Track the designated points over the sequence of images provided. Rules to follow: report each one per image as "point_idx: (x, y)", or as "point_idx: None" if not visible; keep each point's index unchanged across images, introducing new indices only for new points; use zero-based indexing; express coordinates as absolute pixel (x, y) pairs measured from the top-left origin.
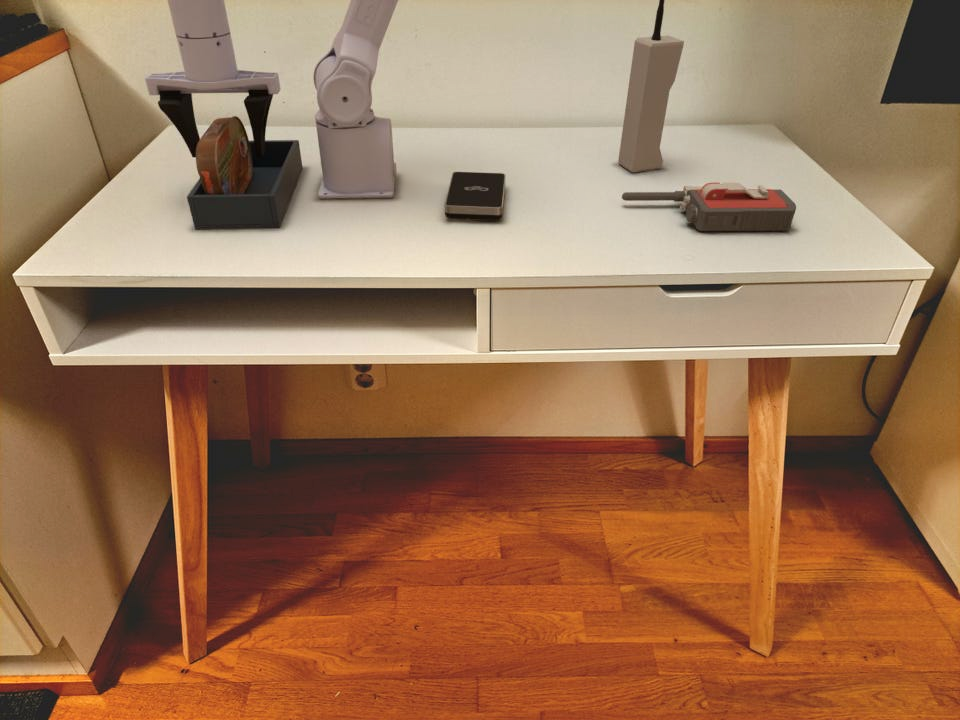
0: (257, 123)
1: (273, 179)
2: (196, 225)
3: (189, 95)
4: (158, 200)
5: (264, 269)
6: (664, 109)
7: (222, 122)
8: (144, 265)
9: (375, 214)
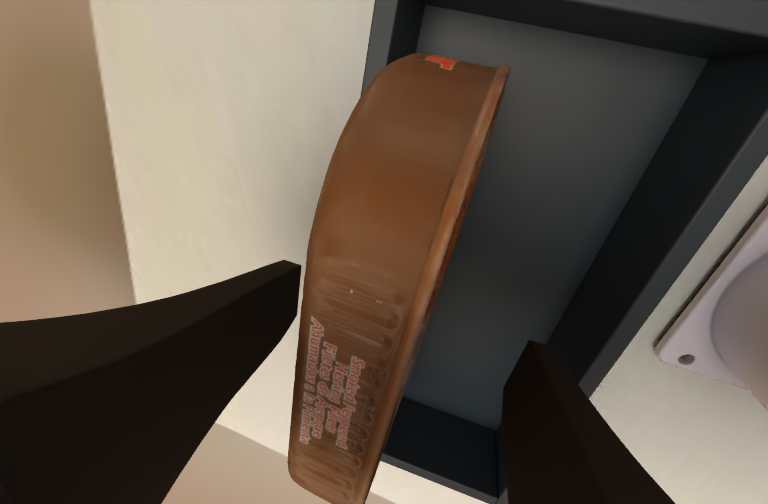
0: None
1: (554, 185)
2: None
3: (58, 433)
4: (238, 209)
5: None
6: None
7: (360, 338)
8: (286, 438)
9: (763, 472)
